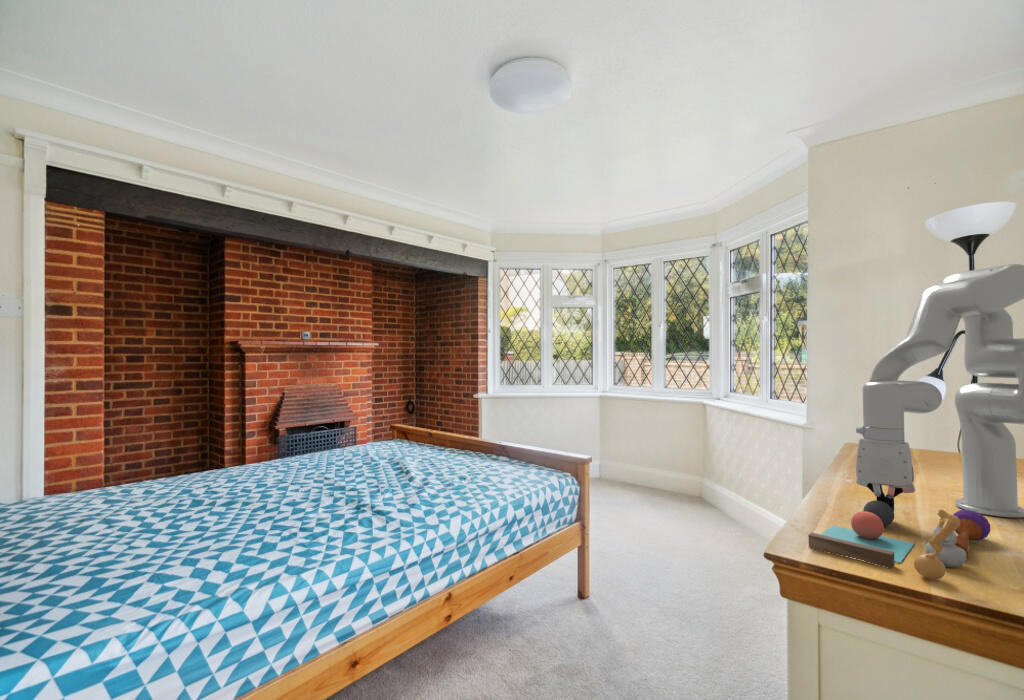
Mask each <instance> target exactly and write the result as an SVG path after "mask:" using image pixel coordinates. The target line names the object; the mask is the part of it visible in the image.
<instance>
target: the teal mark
mask: <svg viewBox="0 0 1024 700" xmlns="http://www.w3.org/2000/svg"><path fill="white" fill-rule="evenodd" d="M821 535H825V536H829V537H833V538H838V539H842V540H846V541H850V542H855V543H859V544H863V545H867V546H872V547H876V548H880V549H885V550H889V551H893V552H894V560H895V563H896V562H898V563H897V564H900V563H901V564H902V563H903V561H904V560H905V558H906V557H907V555H908V554H909V552H910V551H911V550H912V548H913V547H914V545H915V543H914V542H912V541H911V542H909V541H906V540H901V539H896V538H892V537H887V536H883V535H881V536H880V537H879V538H877V539H865V538H862V537H860V536H859V535H858V534H856V533H855V531H854V530H853V529H852V528H846V527H841V526H838V525H831V526H830V527H828V529H826V530H825V531H823V532H821ZM905 556H906V557H905ZM902 560H903V561H902Z"/></svg>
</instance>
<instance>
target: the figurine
mask: <svg viewBox="0 0 1024 700" xmlns="http://www.w3.org/2000/svg"><path fill="white" fill-rule="evenodd" d="M936 514H937V516H938V517H940V519H939V522H938V524H939V525H940V531H939V532H938V533H937V534H936V535H935V536H934V537H933V536H932V537H931V538H929V539H928V542H929V544H930V545H931V546H932V547H933V549H934V550H936V552H934V553H929V554H927V553H922V554H919V555H917V556H916V557H915V559H914V561H913V565H914V568H915V570H916V572H917V573H918V574H919V575H920V576H922V577H923V578H925V579H927V580H934V581H936V580H940V579H942V578H944V576H945V574H946V566H944V564H943V562H942V561H941V560H940V559H939V558H937V555H938V554H939V553H940V552H941V551H942V545H941V544H939V542H942V541H943V540H944V539H946V538H947V537H948V536H950V535H951V534H952V532H953V531H954V532H955V530H956V529H957V528H958V527H959V525H960V519H959V518H958V517H956V516H954V515H953V514H950V513H949V512H947V511H945V510H944V509H942V508H941V509H938V512H937V513H936ZM934 544H935V545H934Z"/></svg>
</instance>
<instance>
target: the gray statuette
mask: <svg viewBox="0 0 1024 700" xmlns="http://www.w3.org/2000/svg"><path fill="white" fill-rule="evenodd" d="M939 531H940V525H939V523H938V524H937V525H936V527H935V528H934V530H933V534H932V535H933V536H932V537H934V536H935V535H936V534H937V533H938V532H939ZM956 534H957V533H956V532H955V531H953V532H952V534H951V535H950V536H948V537H947V538H946V539H944V540H943V541H942V542H939V544H941V545H942V551H941V552H940V553H939V554H938V555H937V558H939V559H940V560H941V561H942V562H943V564H944V566H945V568H946V567H947V568H957V567H959V566H961V565H963V564H965V562H966V561H967V559H966V556H967V554H966V552H965V550H963V549H961V548H959V547H958V546H955V543H956V537H957V535H956ZM934 545H935V544H934ZM924 549H925V554H929V553H934V552H936V550H934V549H933V547H932V546H931V545H930V544H929V541H928V542H927V543H926V544H925V547H924Z"/></svg>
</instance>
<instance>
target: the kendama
mask: <svg viewBox="0 0 1024 700" xmlns="http://www.w3.org/2000/svg"><path fill="white" fill-rule="evenodd" d="M952 515H954V516H956V517H958V518H959V519H960V525H959V527H958V528H957V529H956V530H955V531H954V532H955V534H957V535H956V543H955V546H958V547H959V548H961V549H963V550H965V552H966V554H967V556H966V560H967V559H968V557H969V545H970V544H969V542H970V541H981V540H984V539H986V538H988V536H989V535H990V533H991V524H990V522H989V520H988V519H987V518H986V517H985V516H984V514H981V513H977V512H975V511H972V510H965V509H960V510H958V511H956V512H954V513H953V514H952Z"/></svg>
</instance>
